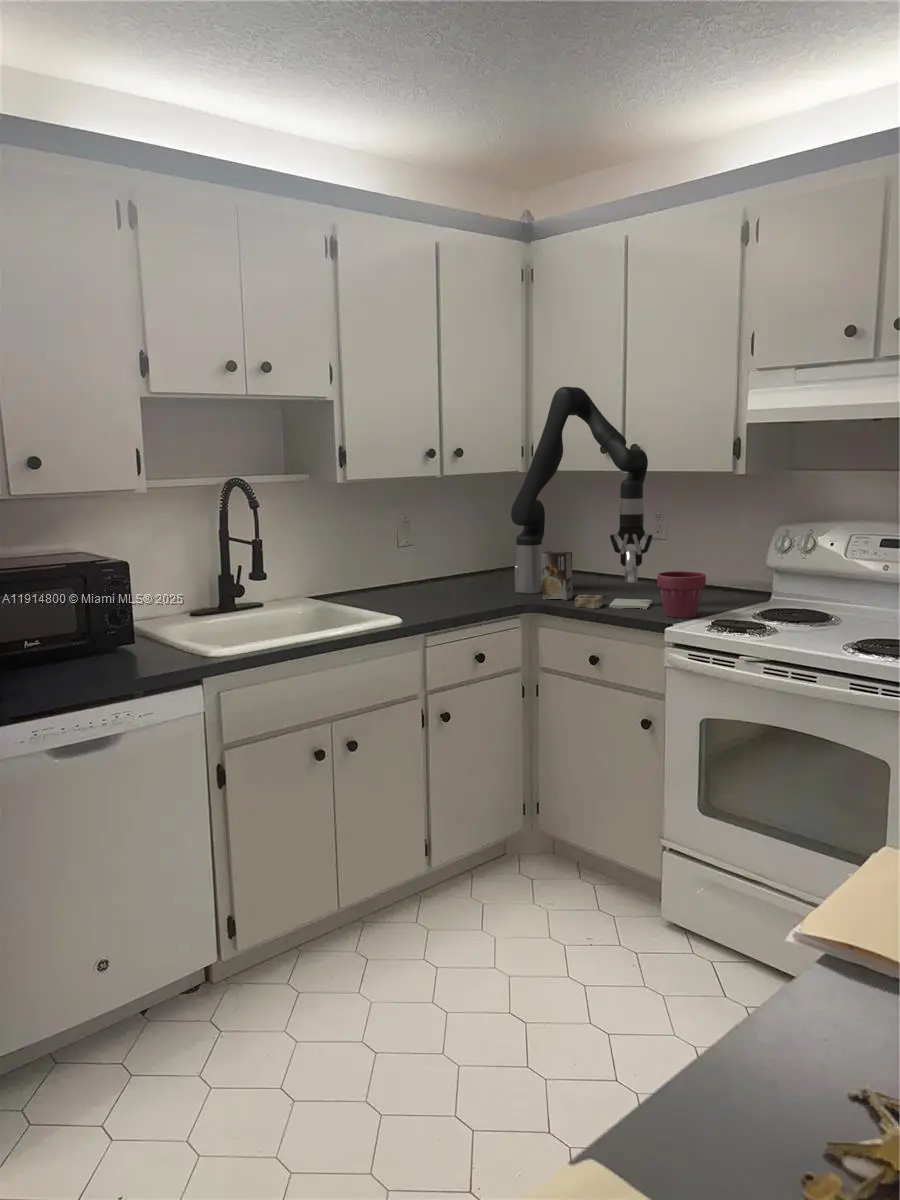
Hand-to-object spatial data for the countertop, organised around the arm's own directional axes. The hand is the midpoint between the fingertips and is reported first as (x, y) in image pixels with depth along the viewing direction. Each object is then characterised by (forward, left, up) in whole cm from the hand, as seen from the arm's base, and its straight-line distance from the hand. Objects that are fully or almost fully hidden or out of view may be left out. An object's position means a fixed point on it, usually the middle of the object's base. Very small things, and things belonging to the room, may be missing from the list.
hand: (631, 565), depth 286 cm
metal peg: (0, 0, -5) cm, 5 cm away
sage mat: (0, 0, -13) cm, 13 cm away
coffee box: (-26, +8, -13) cm, 30 cm away
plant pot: (+17, -14, -13) cm, 26 cm away
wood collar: (-13, -4, -13) cm, 19 cm away
